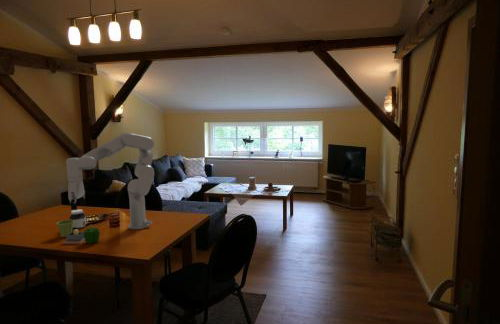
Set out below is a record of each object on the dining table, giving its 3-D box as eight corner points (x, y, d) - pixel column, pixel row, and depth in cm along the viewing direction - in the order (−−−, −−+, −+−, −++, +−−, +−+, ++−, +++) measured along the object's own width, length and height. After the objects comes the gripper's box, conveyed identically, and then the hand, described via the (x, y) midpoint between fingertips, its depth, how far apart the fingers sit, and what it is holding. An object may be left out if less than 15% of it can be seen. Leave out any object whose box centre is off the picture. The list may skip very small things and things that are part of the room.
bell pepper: (98, 244, 186) (97, 227, 185) (82, 245, 184) (81, 228, 183) (101, 239, 194) (100, 222, 193) (86, 240, 192) (85, 224, 191)
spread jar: (77, 230, 210) (76, 213, 209) (62, 229, 212) (61, 212, 211) (90, 225, 222) (89, 208, 220) (75, 224, 224) (74, 207, 223)
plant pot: (62, 239, 195) (61, 225, 194) (54, 236, 200) (53, 222, 199) (78, 234, 203) (77, 221, 202) (69, 232, 208) (68, 218, 206)
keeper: (89, 237, 197) (88, 227, 196) (80, 243, 187) (79, 232, 186) (72, 237, 197) (71, 227, 196) (63, 243, 187) (62, 232, 186)
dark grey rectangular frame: (72, 237, 195) (72, 231, 195) (86, 237, 195) (86, 231, 195) (66, 240, 189) (66, 235, 189) (80, 240, 189) (80, 235, 189)
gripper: (76, 176, 199) (79, 203, 201) (60, 182, 182) (64, 212, 184) (89, 176, 199) (91, 203, 201) (74, 181, 182) (77, 211, 184)
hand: (78, 207), depth 193 cm, fingers open, 9 cm apart
